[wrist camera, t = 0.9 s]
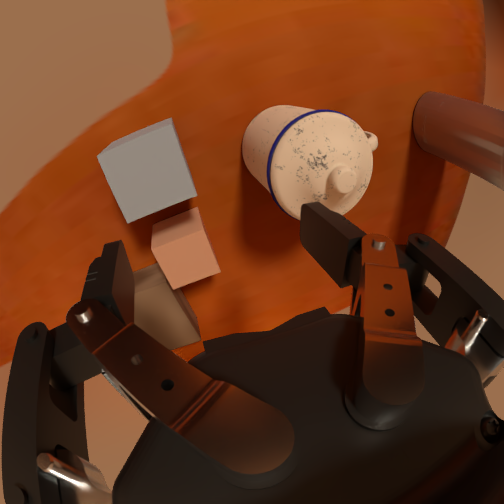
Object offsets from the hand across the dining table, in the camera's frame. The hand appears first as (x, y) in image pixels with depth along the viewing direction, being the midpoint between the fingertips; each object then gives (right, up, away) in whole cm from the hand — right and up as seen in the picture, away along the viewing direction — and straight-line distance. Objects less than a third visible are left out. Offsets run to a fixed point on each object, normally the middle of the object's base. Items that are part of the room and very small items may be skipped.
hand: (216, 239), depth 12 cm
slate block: (-8, +8, +12) cm, 16 cm away
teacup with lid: (+6, +11, +15) cm, 19 cm away
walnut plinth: (-12, -7, +20) cm, 25 cm away
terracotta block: (-6, +1, +17) cm, 18 cm away
